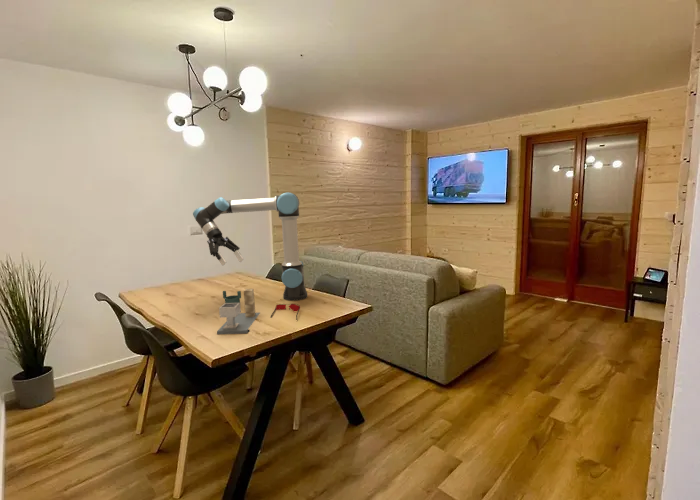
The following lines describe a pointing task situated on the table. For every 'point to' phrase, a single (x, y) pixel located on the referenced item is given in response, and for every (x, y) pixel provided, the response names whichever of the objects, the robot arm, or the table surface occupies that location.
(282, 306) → the glasses
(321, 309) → the table surface
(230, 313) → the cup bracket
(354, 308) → the table surface
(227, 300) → the bracket
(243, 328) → the board
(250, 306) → the light brown tall block
